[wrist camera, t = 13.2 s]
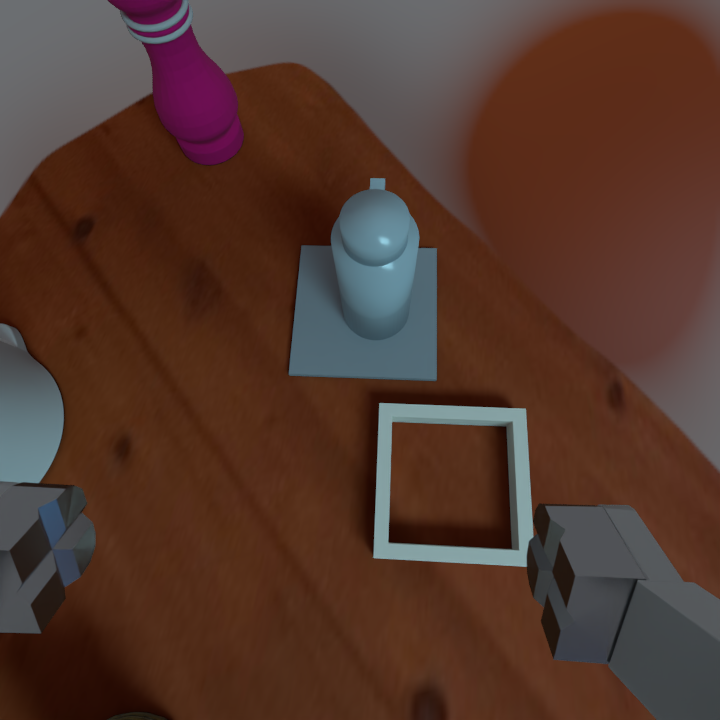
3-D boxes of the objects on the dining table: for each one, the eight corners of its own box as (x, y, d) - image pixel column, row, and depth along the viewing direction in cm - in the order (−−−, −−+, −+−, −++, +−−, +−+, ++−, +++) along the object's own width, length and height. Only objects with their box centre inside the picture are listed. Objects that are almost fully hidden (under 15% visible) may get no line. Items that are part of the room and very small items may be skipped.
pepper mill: (230, 100, 50) (138, -157, 31) (261, 149, 48) (183, -96, 29) (165, 131, 49) (30, -116, 30) (194, 181, 47) (69, -49, 28)
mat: (289, 375, 40) (288, 373, 40) (302, 248, 44) (301, 245, 44) (435, 380, 40) (436, 379, 39) (436, 251, 44) (436, 248, 43)
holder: (373, 556, 36) (373, 558, 34) (379, 408, 39) (379, 402, 37) (526, 564, 35) (535, 567, 33) (518, 414, 39) (525, 408, 37)
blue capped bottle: (341, 339, 41) (324, 259, 28) (346, 253, 43) (333, 146, 31) (408, 341, 40) (421, 261, 28) (410, 255, 43) (422, 147, 31)
